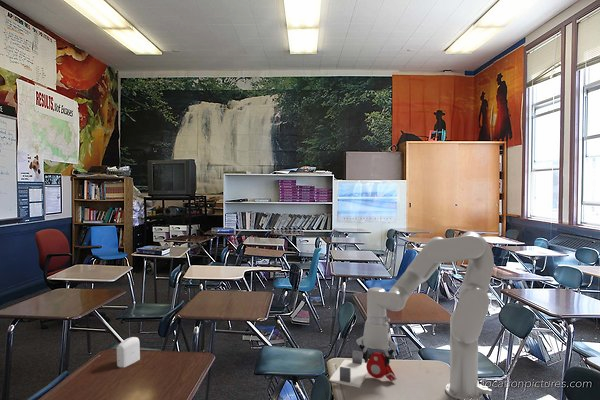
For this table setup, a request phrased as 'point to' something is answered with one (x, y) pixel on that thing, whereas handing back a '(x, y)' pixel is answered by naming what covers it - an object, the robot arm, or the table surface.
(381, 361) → the red curved piece
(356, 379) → the board
